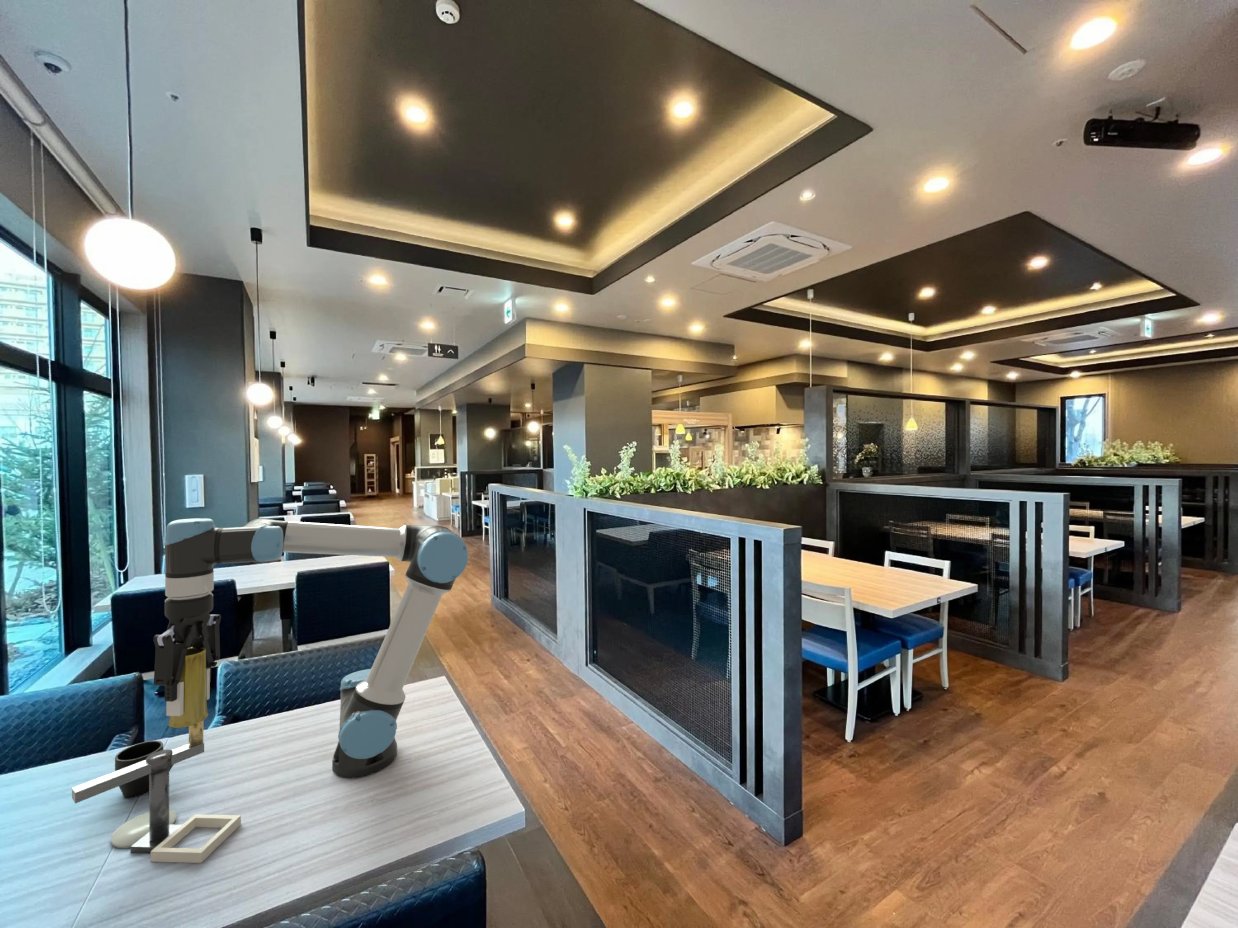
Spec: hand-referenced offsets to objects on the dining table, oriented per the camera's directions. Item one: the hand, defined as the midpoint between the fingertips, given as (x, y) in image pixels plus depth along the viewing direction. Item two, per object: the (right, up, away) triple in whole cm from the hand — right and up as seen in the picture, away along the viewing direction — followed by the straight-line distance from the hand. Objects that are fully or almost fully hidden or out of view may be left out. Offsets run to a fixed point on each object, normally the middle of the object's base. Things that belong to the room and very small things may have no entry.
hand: (188, 706), depth 101 cm
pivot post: (-6, -28, 0) cm, 29 cm away
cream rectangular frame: (+2, -28, 0) cm, 28 cm away
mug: (-23, -28, +15) cm, 39 cm away
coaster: (-12, -28, +3) cm, 30 cm away
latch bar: (-7, -12, -2) cm, 15 cm away
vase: (0, -3, 0) cm, 3 cm away
